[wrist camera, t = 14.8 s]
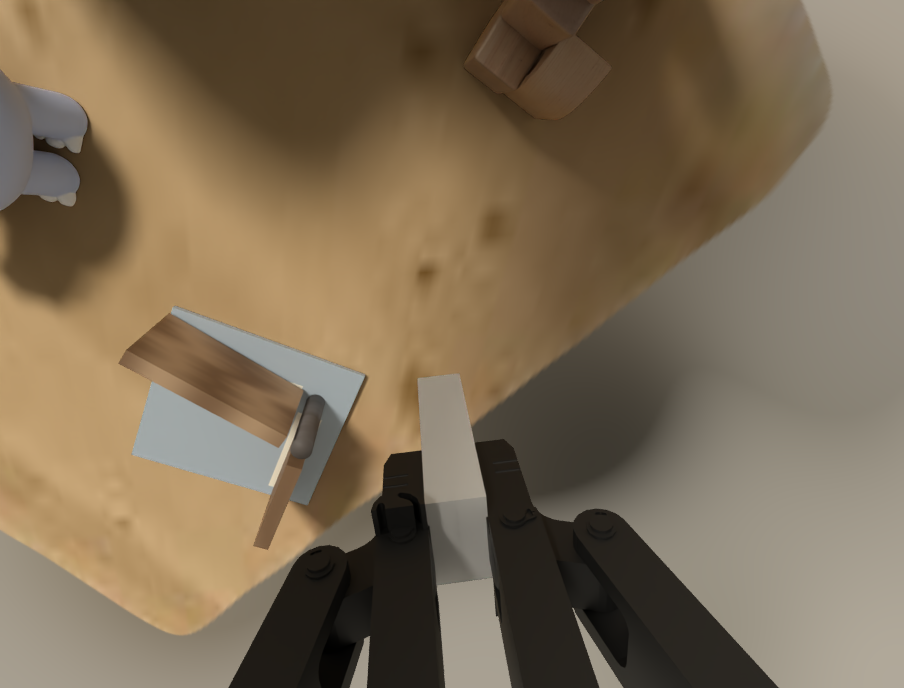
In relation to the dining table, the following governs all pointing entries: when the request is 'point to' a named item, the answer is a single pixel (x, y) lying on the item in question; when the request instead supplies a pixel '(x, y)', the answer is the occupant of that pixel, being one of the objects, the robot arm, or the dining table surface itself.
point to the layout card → (228, 446)
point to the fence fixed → (291, 469)
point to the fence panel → (215, 378)
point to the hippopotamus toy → (45, 116)
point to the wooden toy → (538, 56)
